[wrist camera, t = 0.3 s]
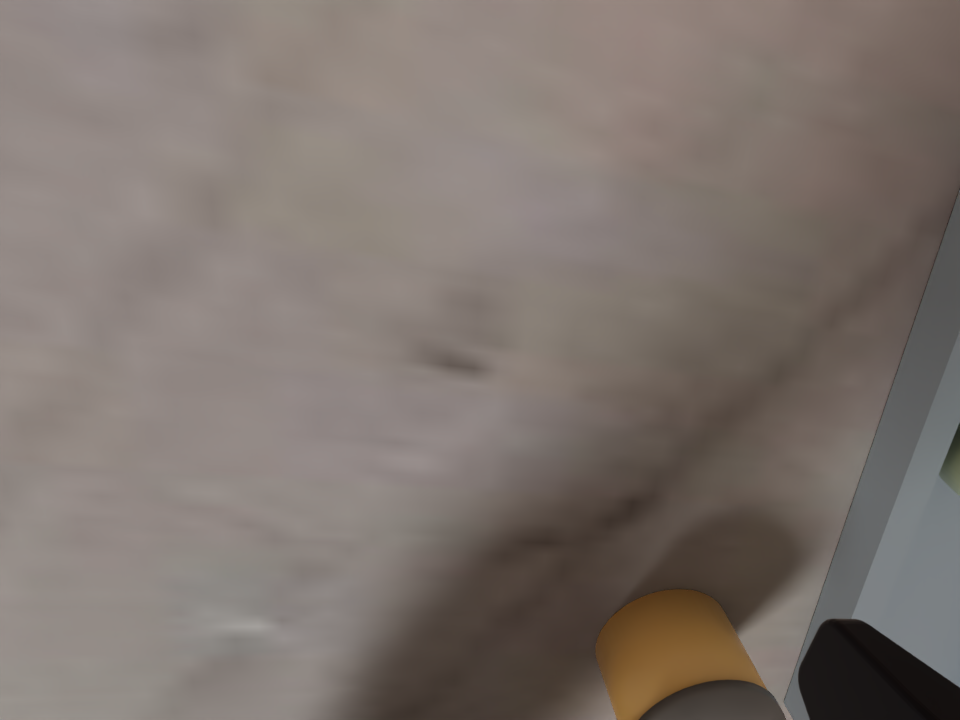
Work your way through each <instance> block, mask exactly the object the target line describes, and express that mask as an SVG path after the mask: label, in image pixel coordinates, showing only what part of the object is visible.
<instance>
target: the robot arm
mask: <svg viewBox="0 0 960 720" xmlns="http://www.w3.org/2000/svg"><path fill="white" fill-rule="evenodd" d="M798 684H799V689H800V693H801V696H802V699H803V701H804V704H805V707H806V710H807V713H808V716H809V719H810V720H960V687H958V686H957V685H955V684H954V683H953V682H951V681H950V680H948V679H947V678H945V677H944V676H943V675H941V674H940V673H938V672H937V671H935V670H934V669H932V668H931V667H930V666H928V665H927V664H925V663H924V662H922V661H921V660H919V659H918V658H917V657H915V656H914V655H912V654H911V653H909V652H908V651H906V650H905V649H904V648H902V647H901V646H899V645H898V644H896V643H895V642H893V641H892V640H891V639H889V638H888V637H886V636H885V635H883V634H882V633H880V632H879V631H878V630H876V629H875V628H873V627H872V626H870V625H869V624H867V623H866V622H864V621H862V620H858V619H827V620H826V621H824V622H823V623H822V624H821V625H820V626H819V628H818V630H817V632H816V634H815V636H814V638H813V640H812V642H811V644H810V646H809V648H808V650H807V652H806V654H805V656H804V658H803V660H802V662H801V664H800V667H799V671H798Z"/></svg>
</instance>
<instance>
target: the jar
mask: <svg viewBox="0 0 960 720" xmlns="http://www.w3.org/2000/svg"><path fill="white" fill-rule="evenodd" d="M595 653H596V659H597V662H598V665H599V668H600V671H601V674H602V677H603V680H604V683H605V686H606V689H607V692H608V694H609V697H610V700H611V703H612V706H613V709H614V712H615V715H616V718H617V720H786V718H785V716H784V713H783V712H782V710H781V708H780V706H779V704H778V702H777V701H776V699H775V698H774V696H773V695H772V694H771V693H770V692H769V691H768V690H767V689H766V687H765V685H764V683H763V681H762V680H761V678H760V676H759V674H758V672H757V670H756V669H755V667H754V665H753V663H752V661H751V659H750V658H749V656H748V654H747V652H746V650H745V648H744V647H743V645H742V643H741V641H740V639H739V638H738V636H737V634H736V632H735V630H734V628H733V627H732V625H731V623H730V621H729V619H728V617H727V616H726V614H725V612H724V610H723V609H722V607H721V606H720V604H719V603H718V602H717V601H716V600H714V599H713V598H712V597H710V596H708V595H706V594H704V593H701V592H698V591H693V590H687V589H671V590H664V591H659V592H655V593H652V594H649V595H645V596H643V597H641V598H638V599H636V600H634V601H633V602H631V603H629V604H627V605H626V606H624V607H623V608H621V609H620V610H619V611H618V612H616V613H615V614H614V615H613V616H612V617H611V618H610V619H609V620H608V622H607V623H606V624H605V625H604V627H603V628H602V630H601V632H600V634H599V636H598V638H597V642H596V649H595Z"/></svg>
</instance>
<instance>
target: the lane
mask: <svg viewBox="0 0 960 720" xmlns="http://www.w3.org/2000/svg"><path fill="white" fill-rule="evenodd" d="M959 423H960V190H959V193H958V196H957V199H956V202H955V205H954V208H953V211H952V214H951V217H950V219H949V222H948V225H947V228H946V231H945V234H944V237H943V240H942V243H941V246H940V249H939V252H938V254H937V257H936V260H935V263H934V266H933V269H932V272H931V275H930V278H929V281H928V284H927V286H926V289H925V292H924V295H923V298H922V301H921V304H920V307H919V310H918V313H917V316H916V319H915V321H914V324H913V327H912V330H911V333H910V336H909V339H908V342H907V345H906V348H905V351H904V353H903V356H902V359H901V362H900V365H899V368H898V371H897V374H896V377H895V380H894V383H893V386H892V388H891V391H890V394H889V397H888V400H887V403H886V406H885V409H884V412H883V415H882V418H881V421H880V423H879V426H878V429H877V432H876V435H875V438H874V441H873V444H872V447H871V450H870V453H869V455H868V458H867V461H866V464H865V467H864V470H863V473H862V476H861V479H860V482H859V485H858V488H857V490H856V493H855V496H854V499H853V502H852V505H851V508H850V511H849V514H848V517H847V520H846V522H845V525H844V528H843V531H842V534H841V537H840V540H839V543H838V546H837V549H836V552H835V555H834V557H833V560H832V563H831V566H830V569H829V572H828V575H827V578H826V581H825V584H824V587H823V589H822V592H821V595H820V598H819V601H818V604H817V607H816V610H815V613H814V616H813V619H812V622H811V624H810V627H809V630H808V633H807V636H806V639H805V642H804V645H803V648H802V651H801V654H800V656H799V659H798V662H797V665H796V668H795V671H794V674H793V677H792V680H791V683H790V686H789V689H788V691H787V694H786V697H785V700H784V704H785V706H786V707H787V709H788V711H789V713H790V715H791V716H792V718H793V720H810V719H809V716H808V713H807V710H806V707H805V704H804V701H803V699H802V696H801V693H800V689H799V684H798V671H799V667H800V664H801V662H802V660H803V658H804V656H805V654H806V652H807V650H808V648H809V646H810V644H811V642H812V640H813V638H814V636H815V634H816V632H817V630H818V628H819V626H820V625H821V624H822V623H823V622H824V621H826V620H827V619H858V620H862V621H864V622H866V623H867V624H869V625H870V626H872V627H873V628H875V629H876V630H878V631H879V632H880V633H882V634H883V635H885V636H886V637H888V638H889V639H891V640H892V641H893V642H895V643H896V644H898V645H899V646H901V647H902V648H904V649H905V650H906V651H908V652H909V653H911V654H912V655H914V656H915V657H917V658H918V659H919V660H921V661H922V662H924V663H925V664H927V665H928V666H930V667H931V668H932V669H934V670H935V671H937V672H938V673H940V674H941V675H943V676H944V677H945V678H947V679H948V680H950V681H951V682H953V683H954V684H955V685H957V686H958V687H960V496H959V495H958V494H957V493H956V492H955V491H954V490H952V489H951V488H950V487H949V486H948V485H947V484H946V483H945V482H944V481H943V480H942V479H941V478H940V476H939V472H940V470H941V468H942V465H943V463H944V460H945V458H946V455H947V453H948V450H949V448H950V445H951V443H952V440H953V438H954V435H955V433H956V430H957V428H958V425H959Z"/></svg>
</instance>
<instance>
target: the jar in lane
mask: <svg viewBox="0 0 960 720" xmlns="http://www.w3.org/2000/svg"><path fill="white" fill-rule="evenodd" d="M939 476H940V478H941V479H942V480H943V481H944V482H945V483H946V484H947V485H948V486H949V487H950V488H951V489H952V490H954V491H955V492H956V493H957V494H958V495H959V496H960V423H959V425H958V428H957V430H956V433H955V435H954V438H953V440H952V443H951V445H950V448H949V450H948V453H947V455H946V458H945V460H944V463H943V465H942V468H941V470H940V472H939Z"/></svg>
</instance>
